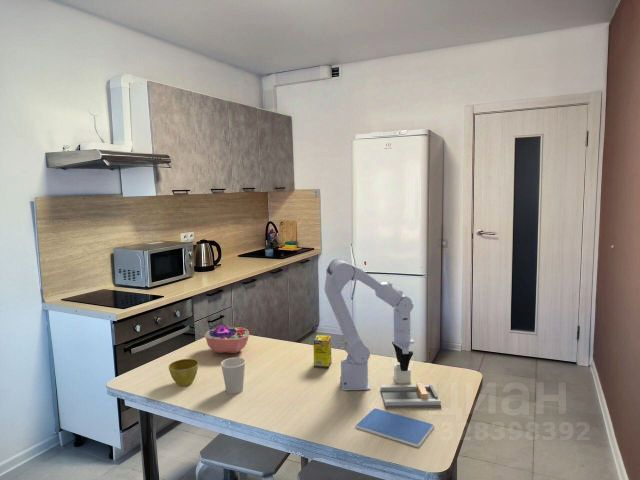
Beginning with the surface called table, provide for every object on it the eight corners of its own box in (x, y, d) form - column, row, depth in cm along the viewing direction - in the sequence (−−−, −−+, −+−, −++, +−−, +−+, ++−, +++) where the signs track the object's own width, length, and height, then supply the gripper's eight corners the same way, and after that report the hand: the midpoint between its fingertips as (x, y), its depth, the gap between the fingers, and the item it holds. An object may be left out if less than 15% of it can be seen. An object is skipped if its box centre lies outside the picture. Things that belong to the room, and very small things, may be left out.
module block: (396, 383, 154) (396, 370, 154) (394, 376, 159) (393, 364, 159) (410, 382, 154) (410, 370, 154) (408, 376, 159) (407, 364, 159)
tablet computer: (353, 429, 127) (353, 425, 126) (374, 410, 137) (374, 406, 137) (418, 450, 116) (418, 445, 116) (435, 428, 126) (435, 423, 126)
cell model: (231, 363, 175) (230, 335, 174) (196, 354, 186) (195, 327, 185) (259, 349, 189) (258, 323, 188) (225, 341, 200) (224, 317, 199)
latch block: (421, 401, 139) (421, 394, 139) (416, 389, 147) (416, 382, 147) (428, 401, 139) (428, 393, 139) (422, 389, 147) (422, 382, 146)
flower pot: (163, 386, 156) (162, 367, 155) (183, 375, 165) (182, 357, 164) (185, 392, 152) (184, 371, 151) (205, 380, 161) (204, 361, 160)
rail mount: (385, 408, 137) (385, 400, 137) (380, 389, 149) (380, 382, 149) (441, 407, 137) (441, 399, 136) (431, 388, 149) (431, 382, 149)
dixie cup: (232, 383, 158) (230, 355, 156) (251, 387, 154) (250, 359, 153) (216, 393, 150) (215, 364, 149) (237, 397, 146) (235, 368, 145)
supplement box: (329, 368, 168) (328, 340, 166) (313, 367, 169) (312, 340, 168) (332, 362, 174) (331, 335, 172) (316, 361, 175) (316, 334, 173)
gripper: (417, 335, 147) (417, 374, 149) (409, 322, 162) (409, 357, 163) (396, 335, 148) (396, 375, 149) (390, 322, 162) (390, 358, 164)
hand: (402, 366), depth 156 cm, fingers open, 7 cm apart
